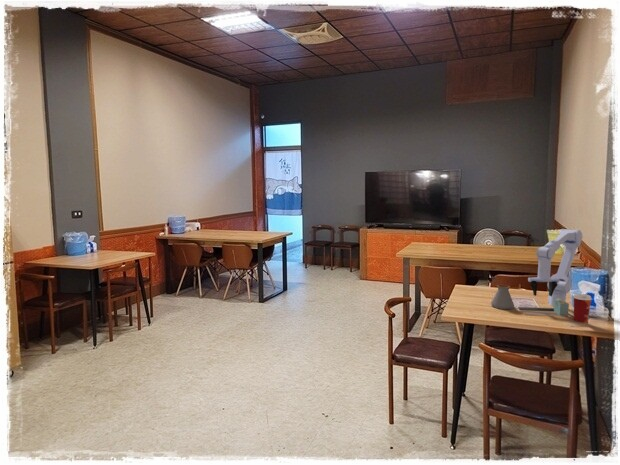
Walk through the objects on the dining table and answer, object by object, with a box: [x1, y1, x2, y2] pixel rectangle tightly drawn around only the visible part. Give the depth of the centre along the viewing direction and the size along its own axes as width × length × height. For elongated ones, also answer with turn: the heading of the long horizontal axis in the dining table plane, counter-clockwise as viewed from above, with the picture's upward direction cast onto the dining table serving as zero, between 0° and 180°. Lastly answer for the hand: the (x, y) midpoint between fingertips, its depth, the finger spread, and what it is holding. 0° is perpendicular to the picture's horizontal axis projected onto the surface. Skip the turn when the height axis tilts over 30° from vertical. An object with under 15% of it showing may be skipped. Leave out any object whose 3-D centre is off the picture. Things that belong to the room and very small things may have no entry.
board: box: [517, 306, 574, 318], centre depth 220 cm, size 11×23×3 cm, turn 82°
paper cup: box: [572, 293, 593, 324], centre depth 208 cm, size 8×8×14 cm
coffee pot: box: [490, 276, 515, 310], centre depth 236 cm, size 21×12×15 cm, turn 178°
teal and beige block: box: [553, 299, 570, 315], centre depth 219 cm, size 7×4×7 cm, turn 172°
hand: (542, 295), depth 224 cm, fingers open, 7 cm apart
